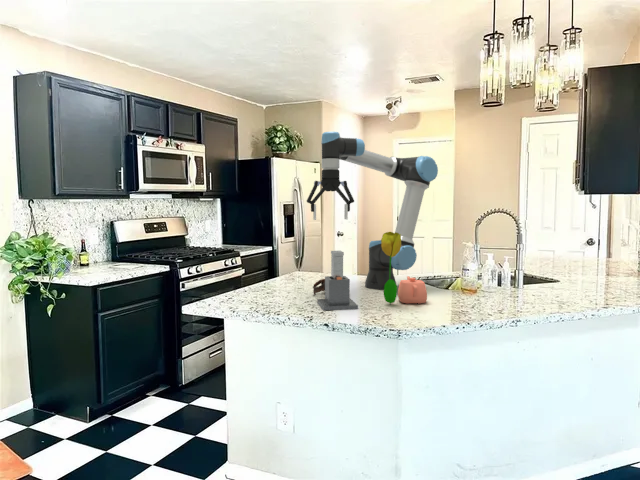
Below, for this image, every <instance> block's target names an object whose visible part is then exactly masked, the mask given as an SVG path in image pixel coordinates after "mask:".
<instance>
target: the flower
mask: <svg viewBox="0 0 640 480" xmlns="http://www.w3.org/2000/svg"><path fill="white" fill-rule="evenodd" d="M380 240H381V247H382V250H383V252H384V253H385V254H386V255H388V256H390V271H391V257H393V256H395V255H396V254H397V253H398V252H399V251H400V248H401V234H399V233H397V232H395V231H394V232H392V231H387V232H385V233H383V234H382V237H381V239H380ZM383 296H384V301H385V302H386V303H388V304H389V305H390V306H391V304H393V303H395V302H396V299H397V296H398V285H397V282H396V283H395V282H394V280H393V279H392V280H391V279H390V274H389V280H388V281H387V282H386V283H385V286H384V289H383Z"/></svg>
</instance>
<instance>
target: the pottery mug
mask: <svg viewBox="0 0 640 480" xmlns="http://www.w3.org/2000/svg"><path fill="white" fill-rule="evenodd" d="M312 289H313V292H312V293H313V294H314V295H316V294H318V293H321V292H325V278H322V279H319V280H318V281H316V282H315V283H314V284H313V286H312Z"/></svg>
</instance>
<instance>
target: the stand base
mask: <svg viewBox="0 0 640 480" xmlns="http://www.w3.org/2000/svg"><path fill="white" fill-rule="evenodd" d="M324 279H325V291H324V298H317V299H316V303H317V304H318V306H319V307H320V308H321V309H322V311H341V310H342V311H343V310H358V309H359V305H358V304H357V303H356V302H355V301H354V300H353V299H351V298H350V288H351V287H350V285H351V283H350V282H351V280H350V278H348V277H347V276H345V275H343V279H342V277H336V279H331V276H324Z"/></svg>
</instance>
